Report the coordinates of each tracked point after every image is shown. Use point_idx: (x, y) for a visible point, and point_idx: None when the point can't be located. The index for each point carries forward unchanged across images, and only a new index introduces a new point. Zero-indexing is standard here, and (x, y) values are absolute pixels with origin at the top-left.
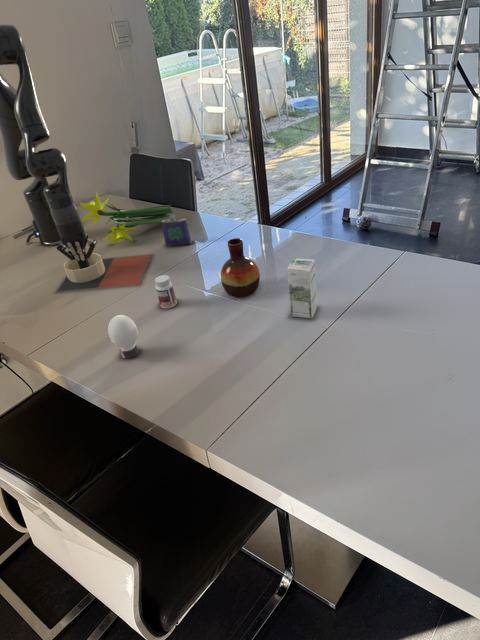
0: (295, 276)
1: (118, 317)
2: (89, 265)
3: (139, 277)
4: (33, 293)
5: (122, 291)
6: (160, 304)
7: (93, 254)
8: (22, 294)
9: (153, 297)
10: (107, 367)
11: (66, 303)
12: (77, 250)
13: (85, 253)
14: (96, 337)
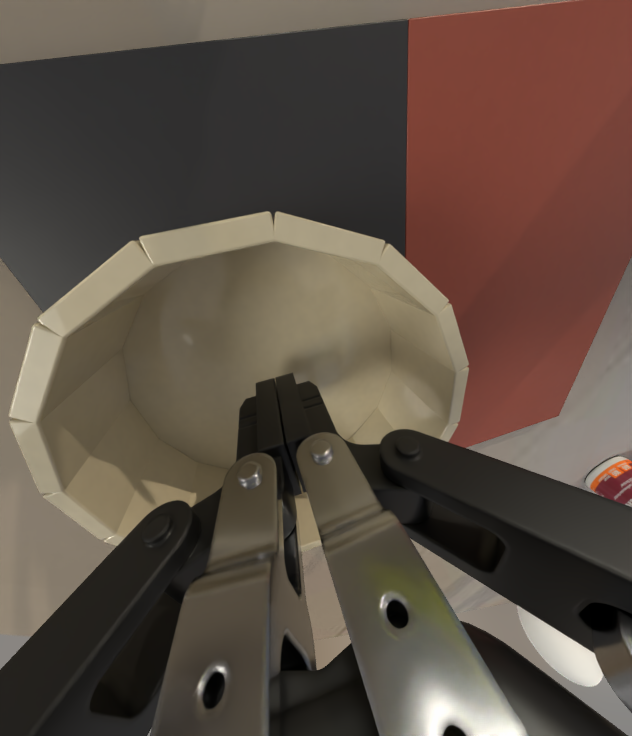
0: None
1: (596, 684)
2: (319, 393)
3: (571, 373)
4: (77, 567)
5: (493, 455)
6: (594, 491)
7: (318, 250)
8: (11, 589)
9: (577, 457)
10: (477, 594)
11: (315, 549)
12: (295, 640)
13: (364, 492)
14: (449, 576)
